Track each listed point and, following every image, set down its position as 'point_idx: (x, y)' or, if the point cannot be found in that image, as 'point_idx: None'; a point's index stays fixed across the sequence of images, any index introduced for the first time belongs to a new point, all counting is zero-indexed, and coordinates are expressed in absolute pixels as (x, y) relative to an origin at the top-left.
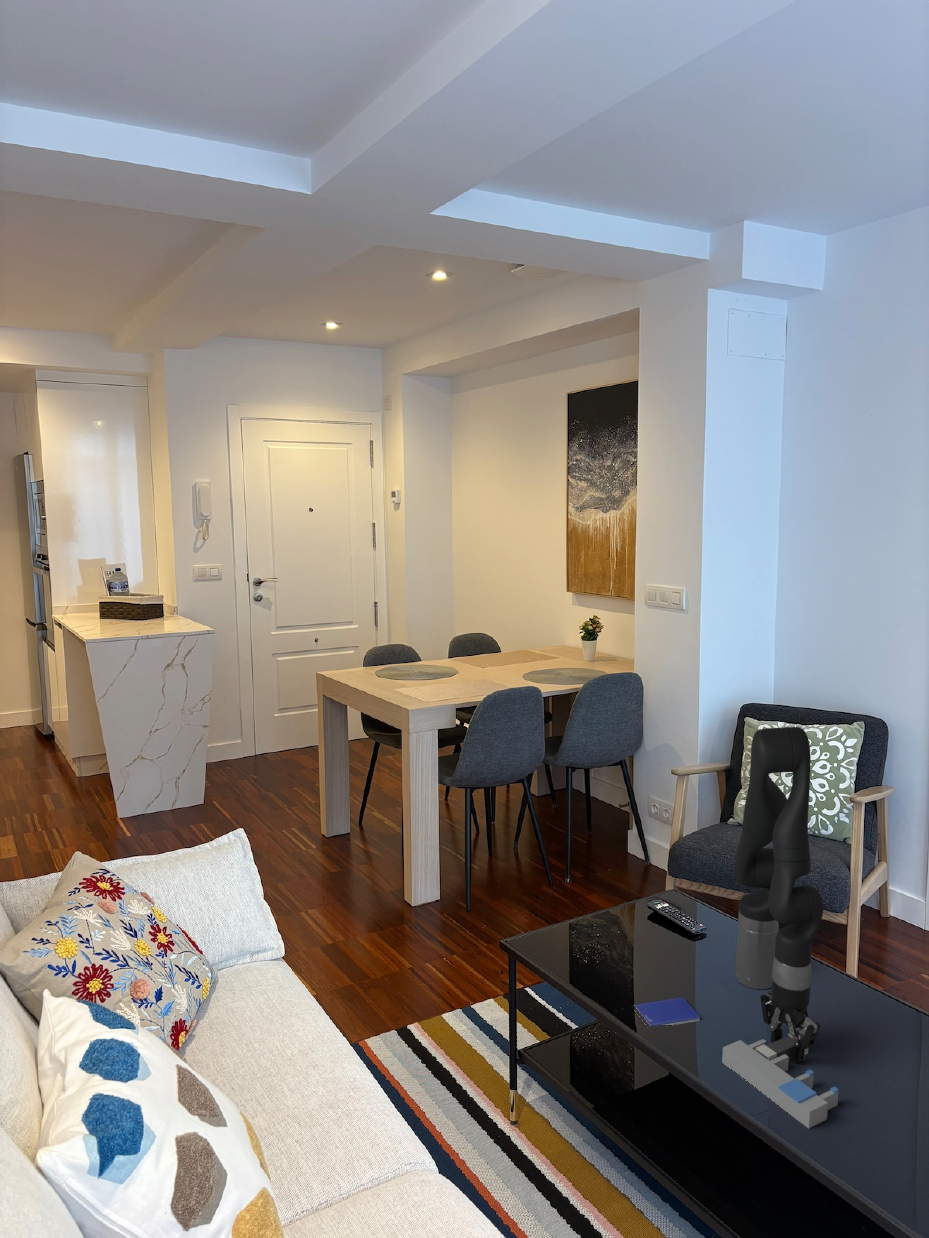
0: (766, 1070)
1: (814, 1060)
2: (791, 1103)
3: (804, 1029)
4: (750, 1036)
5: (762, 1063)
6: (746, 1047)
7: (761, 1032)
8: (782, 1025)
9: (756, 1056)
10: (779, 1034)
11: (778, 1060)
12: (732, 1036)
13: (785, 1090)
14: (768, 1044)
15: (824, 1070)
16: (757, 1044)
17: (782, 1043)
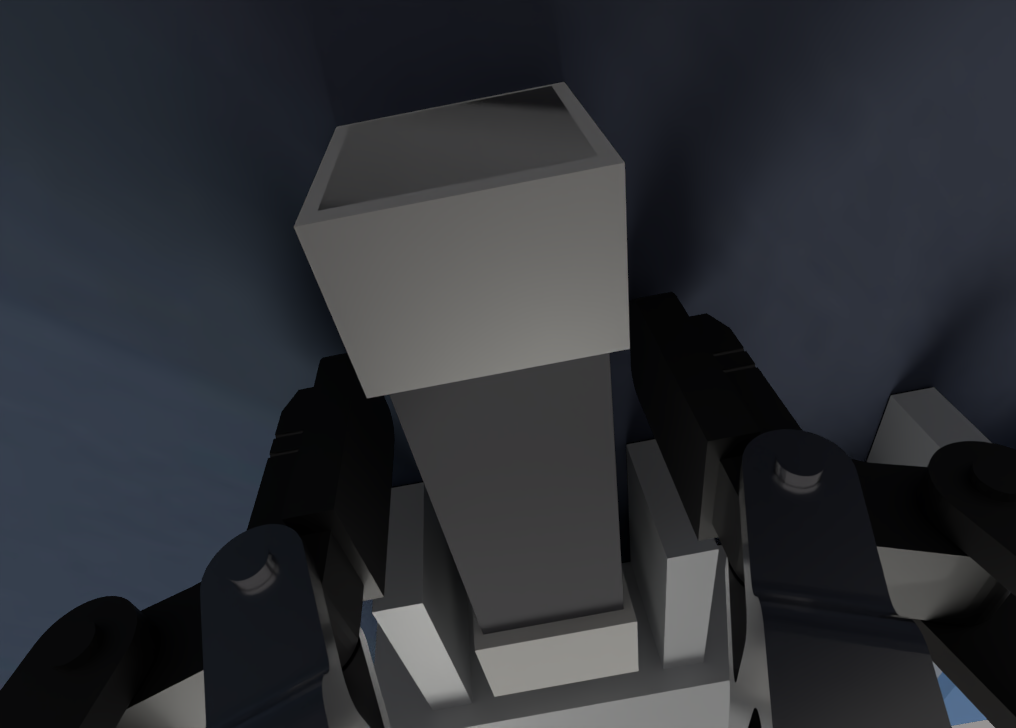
0: None
1: (713, 103)
2: None
3: (915, 685)
4: (128, 477)
5: (679, 714)
6: None
7: (37, 363)
8: (310, 571)
9: (598, 723)
10: (361, 499)
11: (697, 616)
12: (131, 576)
13: (969, 717)
14: (472, 604)
15: (905, 119)
16: (439, 659)
17: (511, 509)
